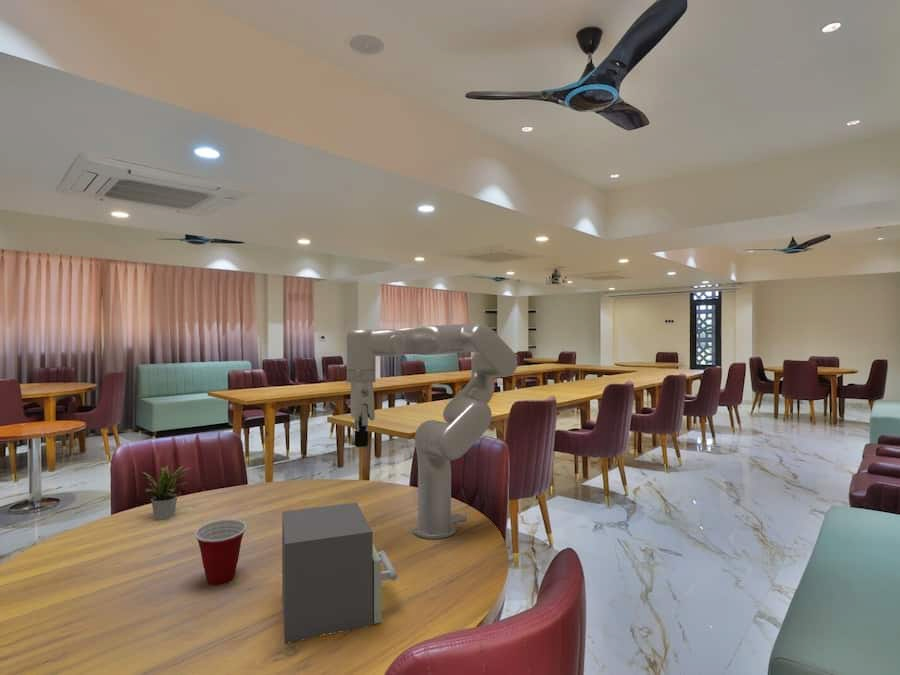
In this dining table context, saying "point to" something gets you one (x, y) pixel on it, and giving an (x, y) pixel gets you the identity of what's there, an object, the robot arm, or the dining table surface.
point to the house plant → (164, 494)
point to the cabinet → (326, 571)
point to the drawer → (379, 577)
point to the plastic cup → (220, 549)
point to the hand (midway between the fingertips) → (361, 446)
